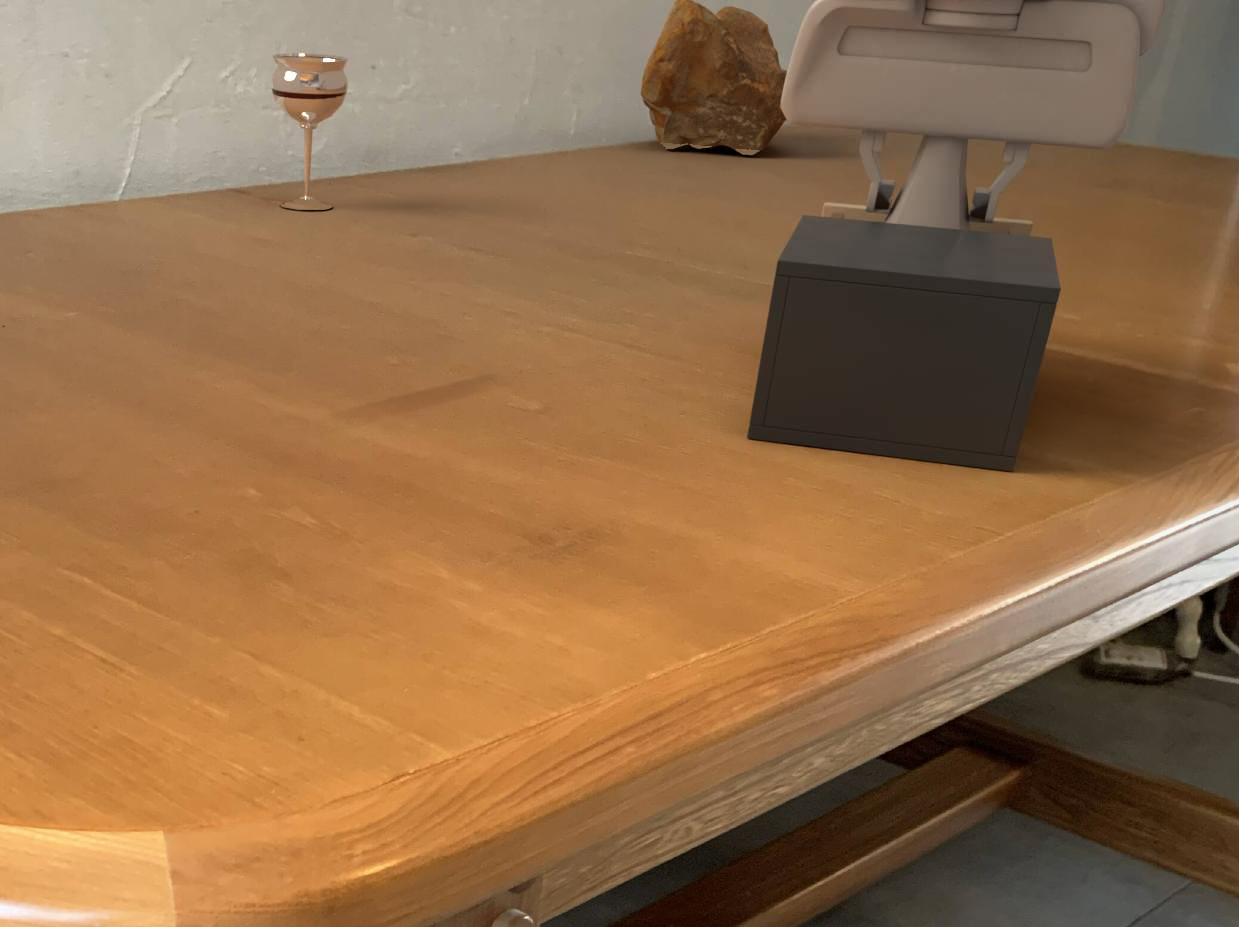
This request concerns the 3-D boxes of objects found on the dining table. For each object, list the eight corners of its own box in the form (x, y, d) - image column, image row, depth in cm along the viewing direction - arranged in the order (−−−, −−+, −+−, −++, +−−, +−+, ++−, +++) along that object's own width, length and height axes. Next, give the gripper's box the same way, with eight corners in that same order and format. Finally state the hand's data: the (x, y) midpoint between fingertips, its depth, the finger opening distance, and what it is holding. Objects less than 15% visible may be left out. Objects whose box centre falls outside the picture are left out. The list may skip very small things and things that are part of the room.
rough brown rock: (744, 175, 186) (782, 21, 177) (610, 143, 192) (640, -7, 184) (816, 161, 202) (854, 20, 194) (690, 132, 209) (722, -6, 200)
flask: (973, 272, 110) (1013, 100, 104) (975, 294, 104) (1018, 113, 98) (859, 261, 111) (893, 91, 106) (855, 282, 105) (890, 103, 100)
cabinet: (774, 375, 109) (802, 214, 104) (1010, 402, 105) (1052, 237, 100) (746, 438, 96) (777, 259, 91) (1013, 471, 93) (1061, 287, 88)
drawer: (808, 309, 122) (830, 191, 117) (1001, 329, 119) (1031, 209, 114) (782, 370, 106) (806, 237, 102) (1004, 395, 103) (1038, 259, 99)
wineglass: (358, 208, 154) (364, 59, 148) (306, 215, 150) (310, 63, 144) (305, 197, 158) (309, 51, 152) (253, 204, 154) (255, 54, 147)
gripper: (1169, -34, 98) (1100, 224, 106) (812, -54, 103) (770, 193, 110) (1179, -29, 93) (1105, 241, 101) (802, -51, 98) (760, 208, 105)
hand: (927, 216), depth 106 cm, fingers closed on flask, 5 cm apart
